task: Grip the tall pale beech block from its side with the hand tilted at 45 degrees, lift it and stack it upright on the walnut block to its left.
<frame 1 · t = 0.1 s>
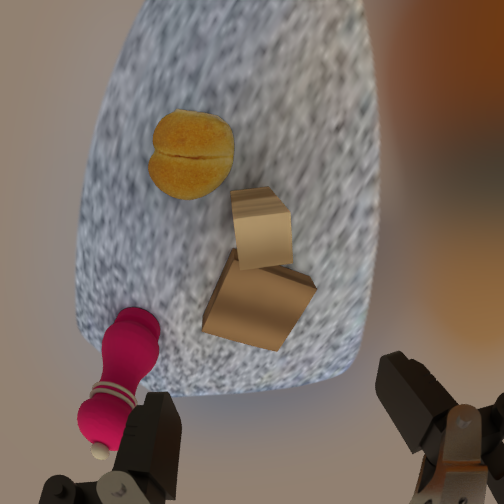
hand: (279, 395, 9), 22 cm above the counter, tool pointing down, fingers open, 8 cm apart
bread roll: (191, 151, 27), on the counter
beech block: (251, 207, 29), on the counter
walnut block: (255, 297, 34), on the counter
pepper mill: (138, 324, 34), on the counter
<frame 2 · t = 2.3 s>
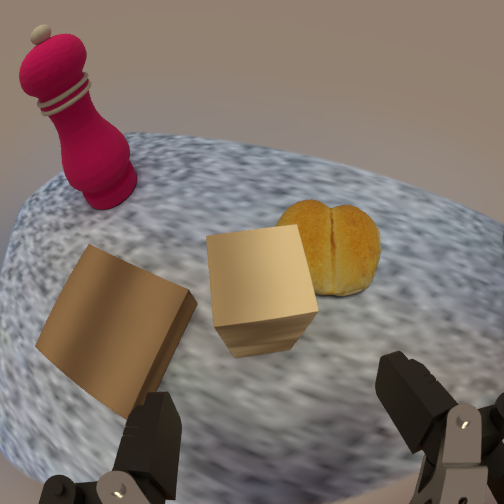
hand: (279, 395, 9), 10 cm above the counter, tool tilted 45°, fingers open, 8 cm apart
bread roll: (326, 252, 23), on the counter
beech block: (258, 327, 20), on the counter
walnut block: (118, 332, 20), on the counter
pepper mill: (112, 188, 27), on the counter
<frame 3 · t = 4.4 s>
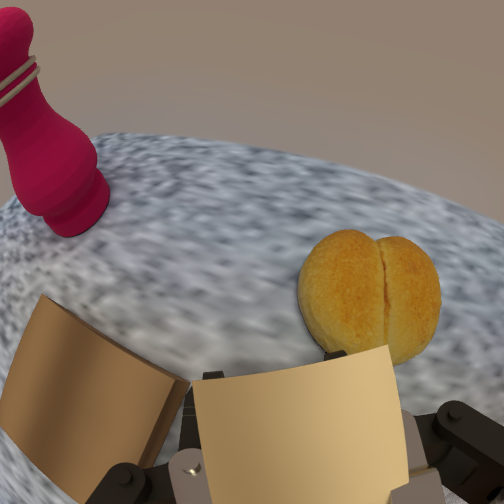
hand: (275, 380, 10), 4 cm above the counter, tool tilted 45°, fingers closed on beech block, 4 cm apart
bread roll: (367, 302, 16), on the counter
beech block: (276, 416, 13), on the counter, touching gripper
walnut block: (89, 410, 12), on the counter
pepper mill: (80, 207, 20), on the counter
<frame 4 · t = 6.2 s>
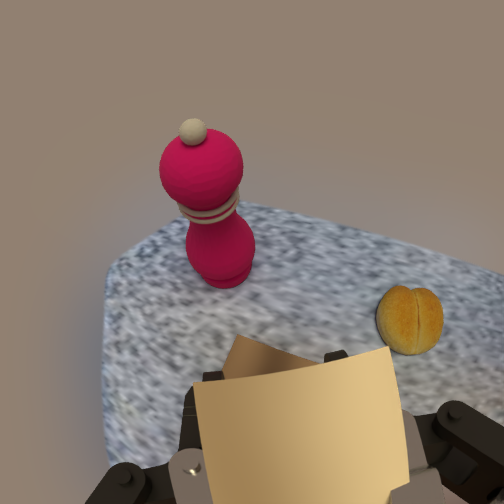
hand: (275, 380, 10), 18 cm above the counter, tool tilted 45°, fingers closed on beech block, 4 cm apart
bread roll: (406, 321, 29), on the counter
beech block: (276, 417, 13), point 14 cm above the counter, touching gripper
walnut block: (266, 399, 26), on the counter
pepper mill: (225, 265, 33), on the counter
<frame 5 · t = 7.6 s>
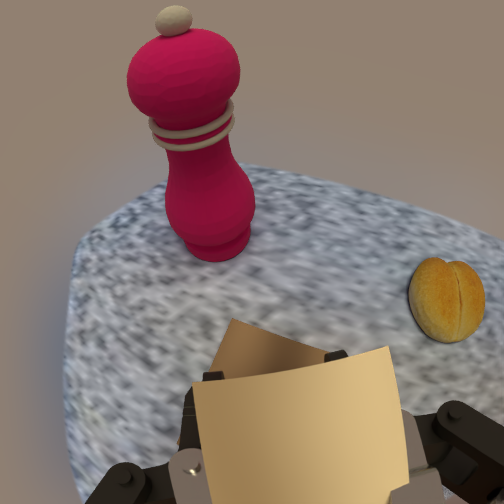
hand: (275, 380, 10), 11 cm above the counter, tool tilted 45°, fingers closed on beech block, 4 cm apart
bread roll: (442, 302, 22), on the counter
beech block: (276, 417, 13), point 7 cm above the counter, touching gripper
walnut block: (271, 407, 19), on the counter
pepper mill: (217, 233, 26), on the counter
when the fingers open (8 cm above the counter, at t = 8.4 s): beech block drops 1 cm, resting on walnut block.
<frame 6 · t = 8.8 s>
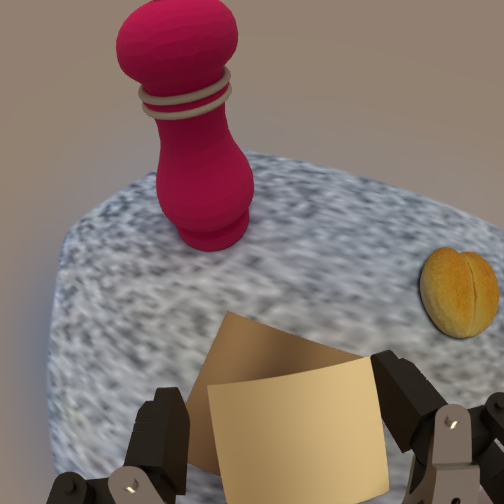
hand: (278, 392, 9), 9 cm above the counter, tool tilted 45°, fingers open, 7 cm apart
bread roll: (453, 296, 20), on the counter
beech block: (276, 415, 14), point 3 cm above the counter, touching walnut block
walnut block: (271, 411, 16), on the counter
pepper mill: (213, 221, 24), on the counter
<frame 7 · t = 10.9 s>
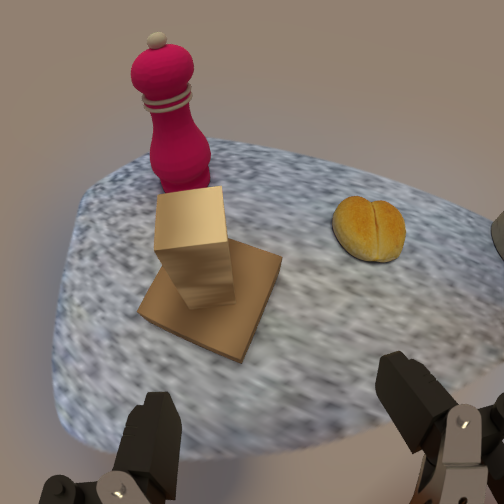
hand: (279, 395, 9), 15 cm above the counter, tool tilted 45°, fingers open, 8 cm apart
bread roll: (367, 234, 31), on the counter
beech block: (210, 285, 24), point 3 cm above the counter, touching walnut block
walnut block: (213, 296, 27), on the counter
pepper mill: (186, 182, 35), on the counter
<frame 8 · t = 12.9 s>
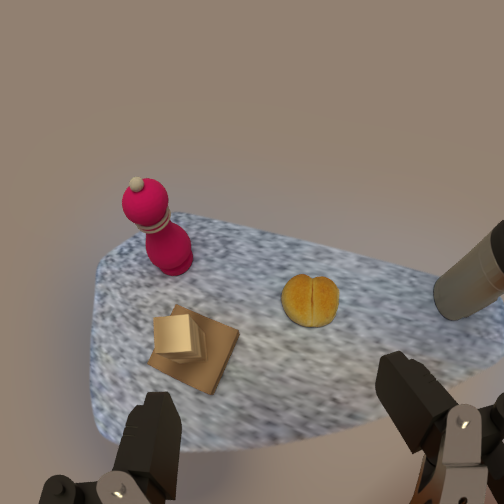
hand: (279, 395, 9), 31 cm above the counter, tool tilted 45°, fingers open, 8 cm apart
bread roll: (310, 302, 43), on the counter
beech block: (192, 348, 36), point 3 cm above the counter, touching walnut block
walnut block: (196, 351, 39), on the counter
pepper mill: (175, 260, 47), on the counter
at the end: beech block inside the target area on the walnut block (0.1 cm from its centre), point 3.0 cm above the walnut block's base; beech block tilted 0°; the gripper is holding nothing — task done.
